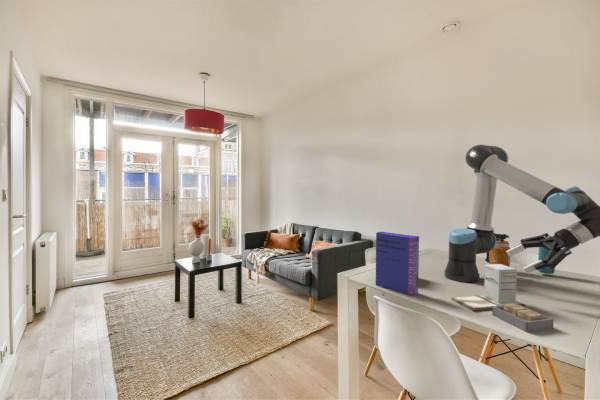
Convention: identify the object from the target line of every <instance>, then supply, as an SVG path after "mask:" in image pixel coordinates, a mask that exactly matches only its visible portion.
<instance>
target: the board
mask: <svg viewBox="0 0 600 400" xmlns="http://www.w3.org/2000/svg"><path fill="white" fill-rule="evenodd" d="M451 301H453V302H455V303H457V304H458V305H461V306H463V307H464V308H467V309H468V310H470V311H472V312H474V313H475V312H485V311H492V307H493V306H501V305H504V304H518V305H520V306H523V307H525V308H526V304H525V303H523V302H520V301H517V300H516V302H511V303H498V302H496V301H494V300H492V299H490V298H488V297H486V296H484V294H481V295H471V296H470V295H469V296H460V297H459V296H457V297H451Z"/></svg>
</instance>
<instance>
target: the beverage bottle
mask: <svg viewBox="0 0 600 400" xmlns="http://www.w3.org/2000/svg"><path fill="white" fill-rule="evenodd" d="M549 236H550V237H552V235H549ZM548 251H549V249H546V248H543V247H538V258H537V261H539V260H541V261H542V260H544V258H545V256H546V255H547V253H548ZM542 262H543V261H542ZM552 264H553V263H552ZM555 270H556V269H555V268H553V269H551V268H550V267H544V268H541V269H539V270H537V271H538V272H539V273H541V274H545V275H546V274H547V275H554V274H555Z"/></svg>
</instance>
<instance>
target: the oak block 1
mask: <svg viewBox="0 0 600 400" xmlns="http://www.w3.org/2000/svg"><path fill="white" fill-rule="evenodd" d="M525 308H526V307H525ZM525 308H523V307H521V306H518V305H516V304H504V311H505V312H507V313H509V314H512V315H514V316H516V317H518V311H519V310H525Z"/></svg>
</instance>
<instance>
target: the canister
mask: <svg viewBox="0 0 600 400" xmlns="http://www.w3.org/2000/svg"><path fill="white" fill-rule="evenodd" d="M493 234H494V235H495V236H496V240H497V242H496V246H495V247H494V249H493V250H491V251H489V252H487V253H486V258H485V259H484V261H485V262H487V263H488V264H502V265H505V266H508V267H511V257H510V256H509V255H508V254H507V252H506V251H508V250H510V249H511V247H510V243H509V241H507V239H509V238H510V236H509V235H507V234H506V233H504V234H503V233H502V234H501V233H495V232H494V233H493Z"/></svg>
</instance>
